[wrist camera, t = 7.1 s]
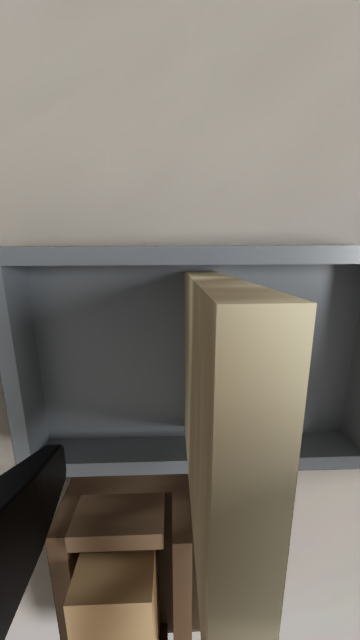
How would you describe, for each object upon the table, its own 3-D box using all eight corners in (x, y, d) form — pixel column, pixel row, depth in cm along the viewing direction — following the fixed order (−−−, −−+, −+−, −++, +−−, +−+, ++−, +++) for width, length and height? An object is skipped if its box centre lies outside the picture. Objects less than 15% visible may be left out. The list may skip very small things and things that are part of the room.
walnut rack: (255, 470, 18) (282, 540, 13) (246, 602, 21) (266, 696, 16) (73, 475, 17) (40, 548, 13) (88, 609, 20) (65, 706, 16)
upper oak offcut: (154, 551, 14) (151, 602, 12) (158, 664, 16) (156, 725, 14) (79, 553, 14) (63, 606, 12) (92, 668, 16) (80, 730, 14)
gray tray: (370, 247, 15) (419, 245, 12) (342, 432, 17) (376, 468, 14) (18, 248, 14) (-22, 246, 11) (44, 439, 17) (18, 478, 14)
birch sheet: (213, 270, 14) (317, 303, 4) (210, 425, 16) (272, 697, 6) (184, 270, 14) (216, 304, 4) (184, 426, 16) (205, 701, 6)
